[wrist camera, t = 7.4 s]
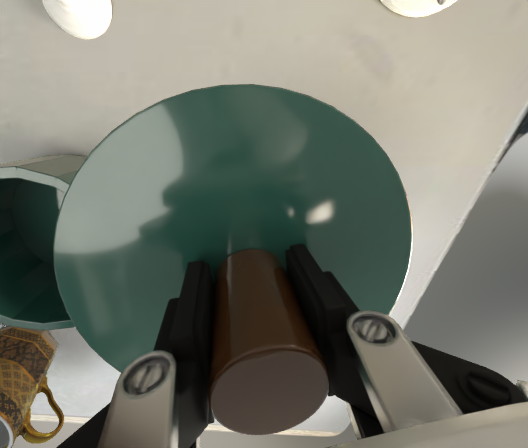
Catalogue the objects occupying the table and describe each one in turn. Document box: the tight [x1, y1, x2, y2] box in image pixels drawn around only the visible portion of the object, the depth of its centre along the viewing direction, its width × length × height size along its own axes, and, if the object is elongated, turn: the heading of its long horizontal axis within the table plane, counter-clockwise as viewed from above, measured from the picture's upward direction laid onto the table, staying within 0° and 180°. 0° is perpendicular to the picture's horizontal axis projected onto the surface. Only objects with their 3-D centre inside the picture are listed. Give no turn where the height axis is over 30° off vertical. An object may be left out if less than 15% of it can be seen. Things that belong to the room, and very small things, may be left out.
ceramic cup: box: [0, 326, 64, 448], centre depth 27 cm, size 13×10×10 cm
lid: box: [53, 84, 413, 435], centre depth 9 cm, size 15×15×6 cm
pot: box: [0, 155, 87, 331], centre depth 23 cm, size 14×14×8 cm
